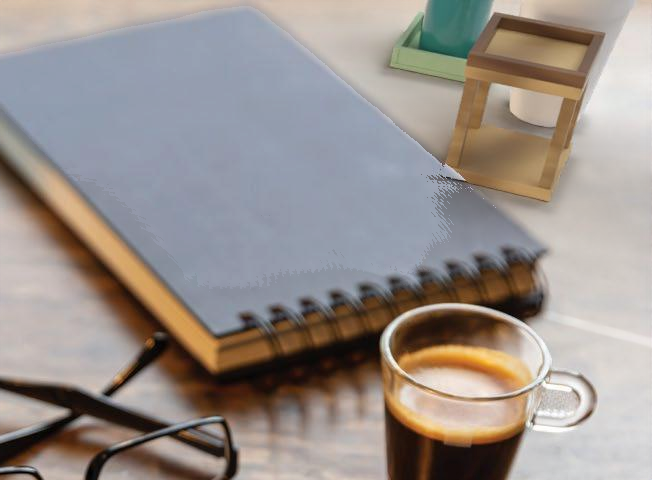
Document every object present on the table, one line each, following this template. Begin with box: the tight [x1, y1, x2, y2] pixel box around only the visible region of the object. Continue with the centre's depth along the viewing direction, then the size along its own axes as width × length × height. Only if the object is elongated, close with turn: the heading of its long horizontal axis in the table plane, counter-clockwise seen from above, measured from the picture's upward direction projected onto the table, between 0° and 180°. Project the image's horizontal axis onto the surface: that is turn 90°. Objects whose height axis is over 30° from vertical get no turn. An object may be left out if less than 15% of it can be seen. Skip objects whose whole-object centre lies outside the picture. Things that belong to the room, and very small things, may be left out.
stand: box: [444, 11, 606, 202], centre depth 109 cm, size 9×9×11 cm
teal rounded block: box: [417, 0, 495, 59], centre depth 125 cm, size 6×6×8 cm
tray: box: [389, 11, 467, 83], centre depth 127 cm, size 9×9×2 cm
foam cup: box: [508, 0, 638, 128], centre depth 115 cm, size 10×9×13 cm
